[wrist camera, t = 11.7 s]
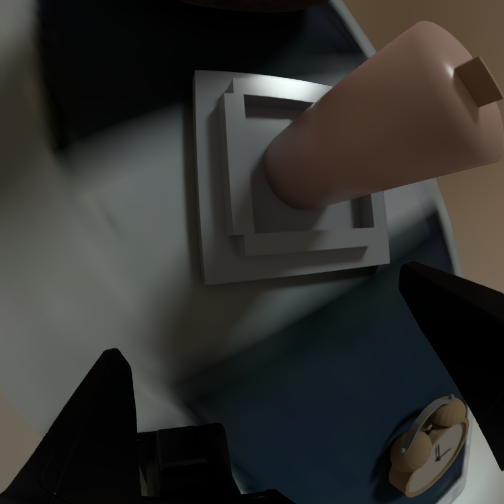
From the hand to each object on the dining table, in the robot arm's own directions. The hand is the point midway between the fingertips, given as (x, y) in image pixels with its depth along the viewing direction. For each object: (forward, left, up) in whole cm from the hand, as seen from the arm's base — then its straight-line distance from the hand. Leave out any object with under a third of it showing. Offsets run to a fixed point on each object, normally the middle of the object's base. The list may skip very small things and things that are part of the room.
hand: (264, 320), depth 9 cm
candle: (+7, -7, -9) cm, 14 cm away
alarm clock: (-21, -22, -11) cm, 32 cm away
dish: (+7, -7, -11) cm, 15 cm away
